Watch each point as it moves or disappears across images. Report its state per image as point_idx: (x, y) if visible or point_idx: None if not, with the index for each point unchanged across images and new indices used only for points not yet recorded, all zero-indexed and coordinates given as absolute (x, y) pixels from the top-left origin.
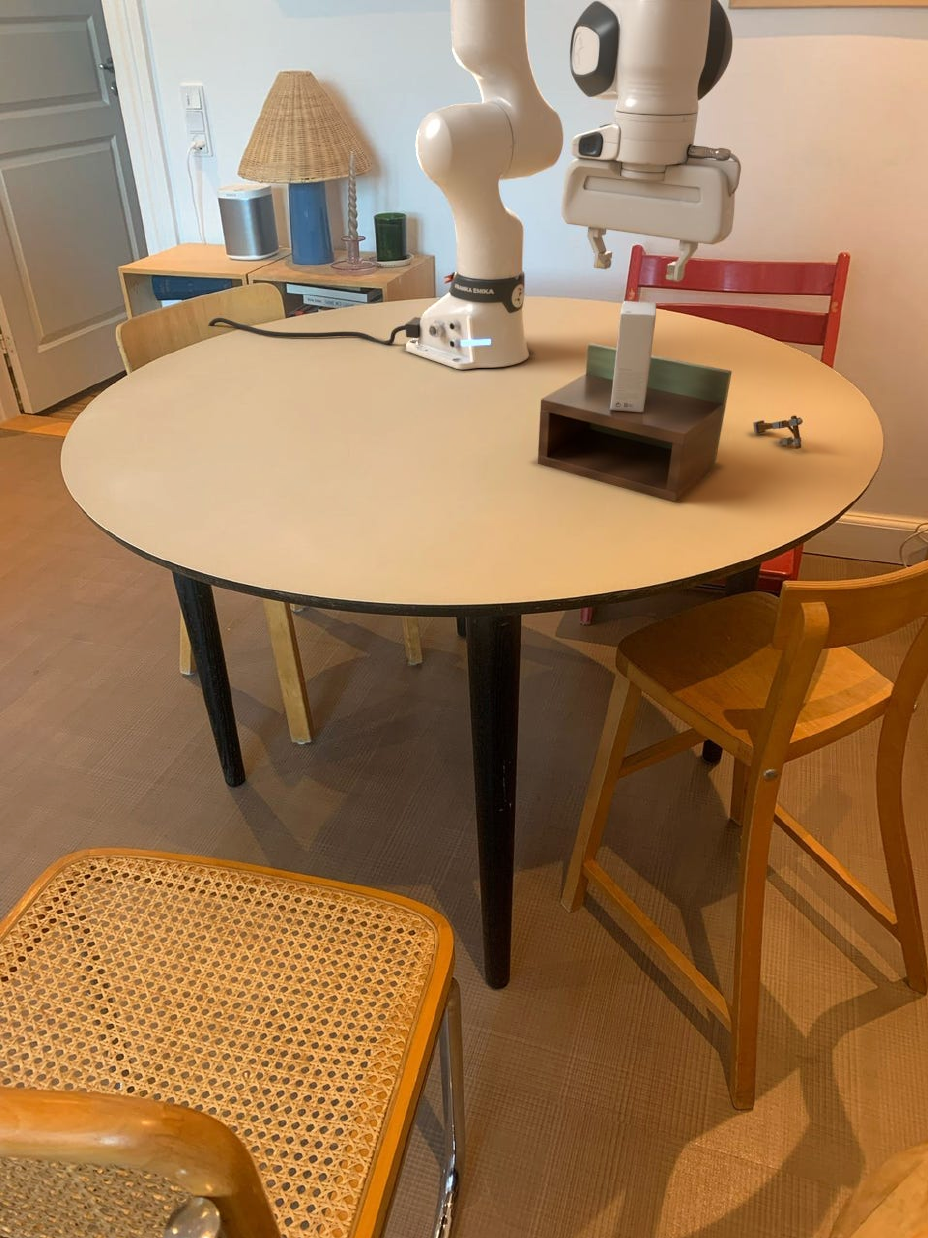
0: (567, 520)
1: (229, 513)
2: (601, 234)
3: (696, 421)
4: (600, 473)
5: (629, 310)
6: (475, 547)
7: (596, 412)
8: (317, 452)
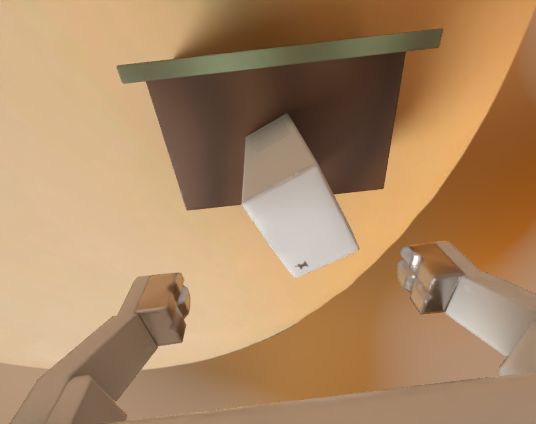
0: None
1: None
2: (110, 405)
3: (385, 146)
4: None
5: (298, 257)
6: (265, 290)
7: None
8: (57, 274)
